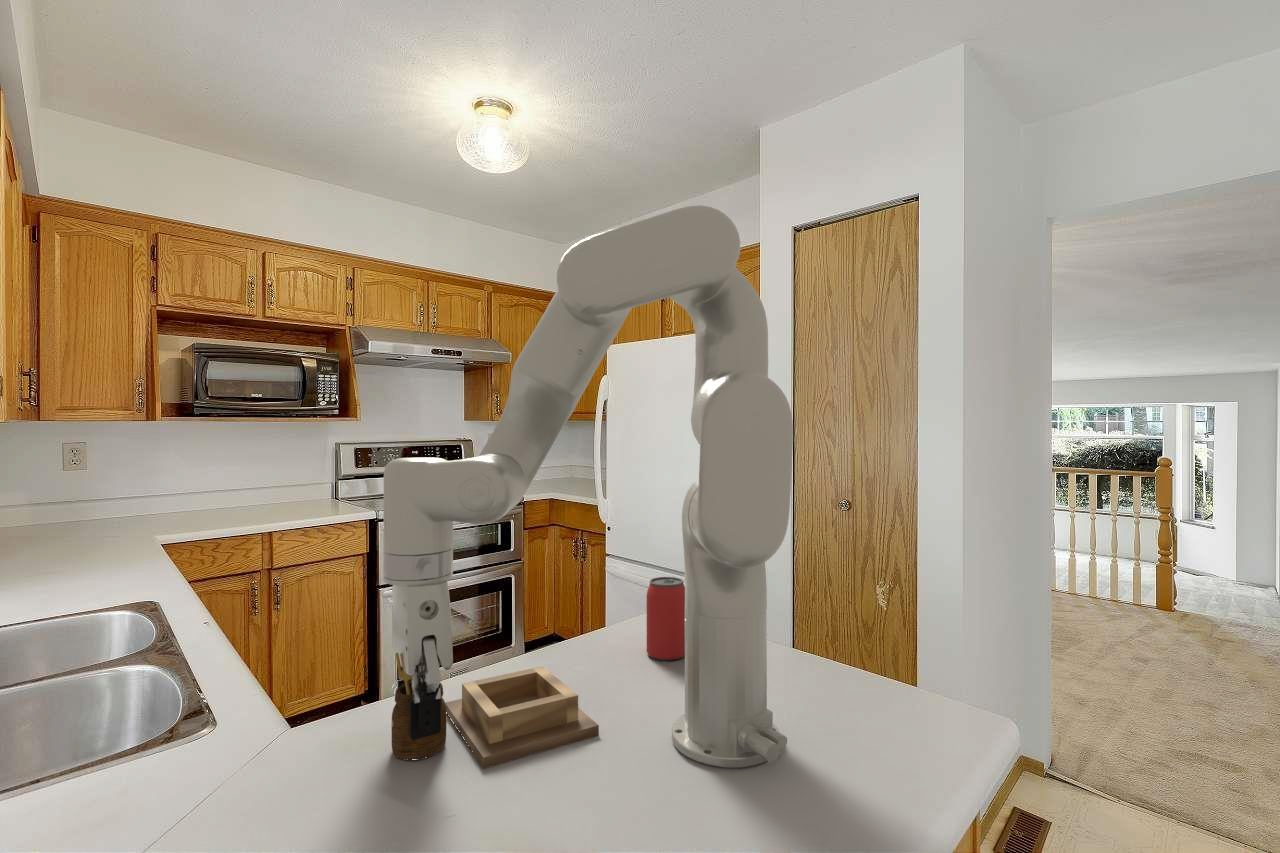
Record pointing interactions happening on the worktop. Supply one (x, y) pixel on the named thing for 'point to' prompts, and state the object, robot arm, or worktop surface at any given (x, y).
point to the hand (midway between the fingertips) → (418, 721)
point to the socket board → (518, 716)
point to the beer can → (666, 618)
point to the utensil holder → (401, 723)
